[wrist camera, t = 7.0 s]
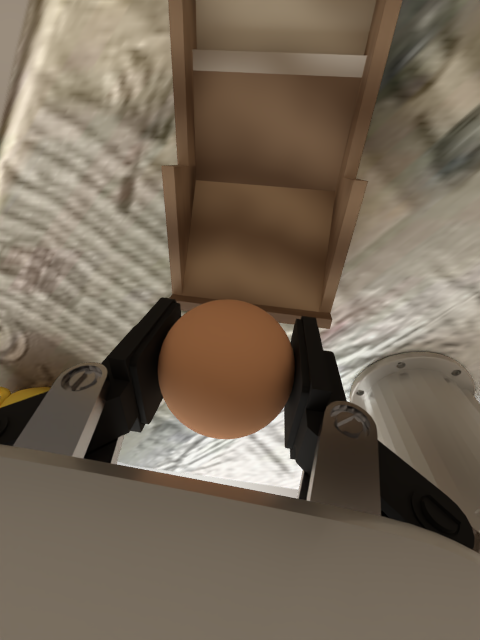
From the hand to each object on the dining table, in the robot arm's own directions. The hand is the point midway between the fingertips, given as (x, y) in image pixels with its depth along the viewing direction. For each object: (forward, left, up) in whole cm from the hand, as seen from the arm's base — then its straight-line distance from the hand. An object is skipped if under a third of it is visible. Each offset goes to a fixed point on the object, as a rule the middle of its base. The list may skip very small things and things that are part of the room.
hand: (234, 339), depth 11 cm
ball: (0, 0, +2) cm, 2 cm away
